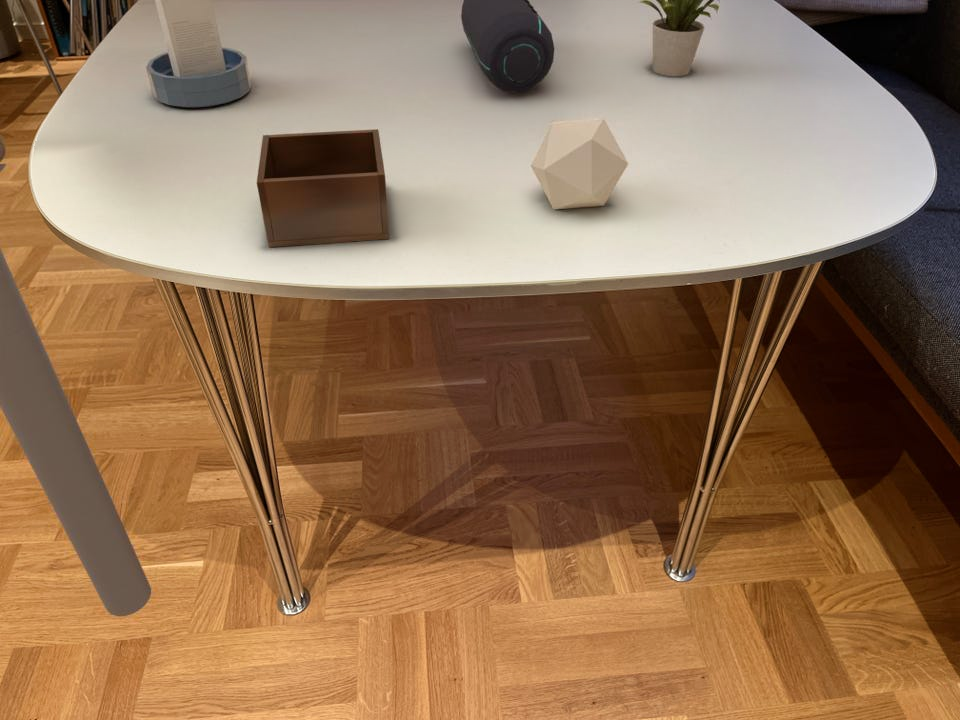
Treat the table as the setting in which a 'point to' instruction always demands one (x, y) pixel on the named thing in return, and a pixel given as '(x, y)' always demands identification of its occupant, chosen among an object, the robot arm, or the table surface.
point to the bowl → (199, 82)
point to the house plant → (677, 35)
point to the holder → (322, 188)
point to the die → (578, 163)
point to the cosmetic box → (191, 37)
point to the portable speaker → (508, 42)
